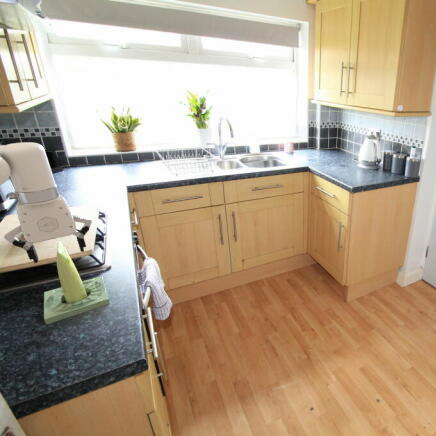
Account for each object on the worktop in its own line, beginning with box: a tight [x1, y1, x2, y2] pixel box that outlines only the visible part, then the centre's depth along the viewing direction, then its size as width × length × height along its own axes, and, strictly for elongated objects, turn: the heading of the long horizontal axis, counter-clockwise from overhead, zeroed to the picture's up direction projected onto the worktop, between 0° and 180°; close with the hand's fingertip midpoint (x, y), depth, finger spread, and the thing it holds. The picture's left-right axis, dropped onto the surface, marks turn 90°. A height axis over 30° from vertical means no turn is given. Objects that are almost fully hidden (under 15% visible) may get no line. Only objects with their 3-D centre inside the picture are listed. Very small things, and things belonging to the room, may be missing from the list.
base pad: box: [43, 275, 111, 325], centre depth 91 cm, size 14×14×3 cm
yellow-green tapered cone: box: [55, 238, 89, 304], centre depth 88 cm, size 6×5×20 cm
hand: (60, 255), depth 85 cm, fingers open, 9 cm apart
